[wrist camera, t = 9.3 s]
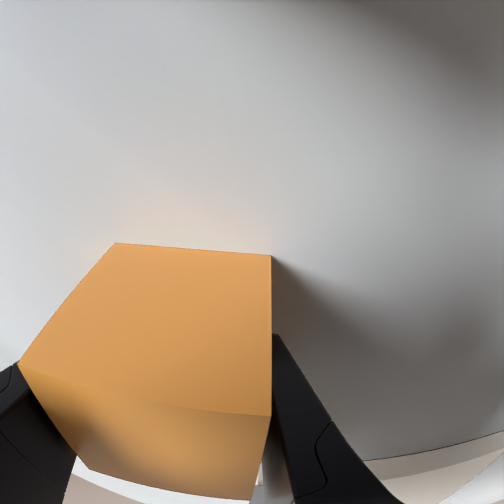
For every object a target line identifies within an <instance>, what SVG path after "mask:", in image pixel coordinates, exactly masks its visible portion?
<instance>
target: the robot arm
mask: <svg viewBox="0 0 504 504" xmlns="http://www.w3.org/2000/svg"><path fill="white" fill-rule="evenodd" d="M19 361H20V360H19ZM19 361H17V362H16V363H14V364H13V366H9V367H8V368H6V369H4V370H3V371H1V372H0V504H62V502H63V499H64V495H65V494H64V493H65V491H66V488H67V485H68V481H69V478H70V475H71V472H72V469H73V466H74V462H75V459H76V456H77V454H76V453H75V452H74V450H73V449H72V448H71V447H70V445H69V444H68V443H67V441H66V440H65V439H64V437H63V436H62V435H61V433H60V432H59V431H58V429H57V428H56V426H55V425H54V424H53V422H52V421H51V419H50V418H49V416H48V415H47V413H46V412H45V410H44V409H43V407H42V406H41V404H40V403H39V401H38V399H37V398H36V396H35V395H34V393H33V391H32V390H31V388H30V386H29V385H28V383H27V381H26V379H25V378H24V376H23V374H22V372H21V371H20V369H19V367H18V365H17V363H18V362H19ZM331 420H332V419H331V417H330V416H329V414H328V413H327V411H326V409H325V408H324V406H323V405H322V403H321V402H320V400H319V398H318V397H317V395H316V394H315V392H314V391H313V389H312V387H311V386H310V384H309V383H308V381H307V379H306V378H305V376H304V375H303V373H302V371H301V370H300V368H299V367H298V365H297V364H296V362H295V360H294V359H293V357H292V355H291V354H290V352H289V351H288V349H287V347H286V346H285V344H284V343H283V341H282V339H281V338H280V336H279V335H278V334H272V388H271V420H270V424H269V429H268V433H267V438H266V442H265V446H264V451H263V455H262V459H261V462H262V475H263V487H264V500H265V504H405V503H403V502H401V501H400V500H399V499H397V498H396V497H395V496H394V495H393V494H392V493H391V492H390V491H389V490H388V489H387V488H386V487H385V486H384V485H383V484H382V483H381V482H380V480H379V479H378V478H377V477H376V476H375V475H374V474H373V473H372V471H371V470H370V469H369V468H368V467H367V466H366V465H365V463H364V462H363V461H362V460H361V459H360V458H359V456H358V455H357V454H356V453H355V452H354V450H353V449H352V448H351V447H350V445H349V444H348V443H347V441H346V440H345V438H344V437H343V435H342V434H341V433H340V431H339V429H338V428H337V426H336V425H335V423H334V422H333V421H331Z"/></svg>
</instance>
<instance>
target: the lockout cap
mask: <svg viewBox="0 0 504 504" xmlns="http://www.w3.org/2000/svg"><path fill="white" fill-rule="evenodd" d="M17 365H18V367H19V369H20V371H21V372H22V374H23V376H24V378H25V379H26V381H27V383H28V385H29V386H30V388H31V390H32V391H33V393H34V395H35V396H36V398H37V399H38V401H39V403H40V404H41V406H42V407H43V409H44V410H45V412H46V413H47V415H48V416H49V418H50V419H51V421H52V422H53V424H54V425H55V426H56V428H57V429H58V431H59V432H60V433H61V435H62V436H63V437H64V439H65V440H66V441H67V443H68V444H69V445H70V447H71V448H72V449H73V450H74V452H75V453H76V454H77V455H78V457H79V458H80V459H81V460H82V462H83V463H84V464H85V465H86V466H87V468H88V469H90V470H93V471H96V472H99V473H102V474H105V475H108V476H112V477H115V478H119V479H122V480H126V481H130V482H133V483H137V484H141V485H146V486H150V487H154V488H159V489H164V490H169V491H174V492H180V493H186V494H192V495H199V496H206V497H214V498H223V499H234V500H247V501H251V500H252V496H253V492H254V488H255V484H256V480H257V476H258V472H259V467H260V463H261V459H262V455H263V451H264V446H265V442H266V438H267V433H268V429H269V424H270V420H271V388H272V307H271V255H258V254H246V253H234V252H221V251H209V250H197V249H184V248H172V247H160V246H148V245H136V244H124V243H114V245H113V246H112V247H111V248H110V249H109V250H108V251H107V252H106V253H105V254H104V256H103V257H102V258H101V259H100V260H99V261H98V262H97V263H96V265H95V266H94V267H93V268H92V269H91V270H90V271H89V273H88V274H87V275H86V276H85V277H84V278H83V280H82V281H81V282H80V283H79V284H78V285H77V287H76V288H75V289H74V290H73V291H72V293H71V294H70V295H69V296H68V297H67V299H66V300H65V301H64V302H63V304H62V305H61V306H60V307H59V309H58V310H57V311H56V312H55V314H54V315H53V316H52V317H51V319H50V320H49V321H48V323H47V324H46V325H45V326H44V328H43V329H42V330H41V332H40V333H39V334H38V336H37V337H36V338H35V340H34V341H33V342H32V344H31V345H30V347H29V348H28V349H27V351H26V352H25V353H24V355H23V356H22V358H21V359H20V361H19V362H18V363H17Z"/></svg>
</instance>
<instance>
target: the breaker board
mask: <svg viewBox="0 0 504 504" xmlns="http://www.w3.org/2000/svg"><path fill="white" fill-rule="evenodd" d="M503 452H504V431H501V432H498V433H495V434H492V435H489V436H486V437H483V438H479V439H476V440H472V441H469V442H465V443H462V444H458V445H454V446H450V447H446V448H441V449H437V450H432V451H428V452H423V453H417V454H412V455H406V456H400V457H393V458H386V459H379V460H370V461H363V462H364V463H365V465H366V466H367V467H368V468H369V469H370V470H371V471H372V473H373V474H374V475H375V476H376V477H377V478H378V479H379V480H380V482H381V483H382V484H383V485H384V486H385V487H386V488H387V489H388V490H389V491H390V492H391V493H392V494H393V495H394V496H395V497H396V498H397V499H399V500H400V501H401V502H403V503H405V504H438V503H440V502H441V501H443V500H444V499H446V498H447V497H449V496H450V495H451V494H453V493H454V492H456V491H457V490H458V489H460V488H461V487H462V486H464V485H465V484H466V483H468V482H469V481H470V480H471V479H473V478H474V477H475V476H476V475H478V474H479V473H480V472H481V471H483V470H484V469H485V468H486V467H487V466H488V465H490V464H491V463H492V462H493V461H494V460H495V459H496V458H498V457H499V456H500V455H501V454H502V453H503ZM249 504H265V500H264V487H263V475H262V464H260V467H259V472H258V476H257V480H256V484H255V488H254V492H253V496H252V500H251V501H249Z"/></svg>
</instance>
